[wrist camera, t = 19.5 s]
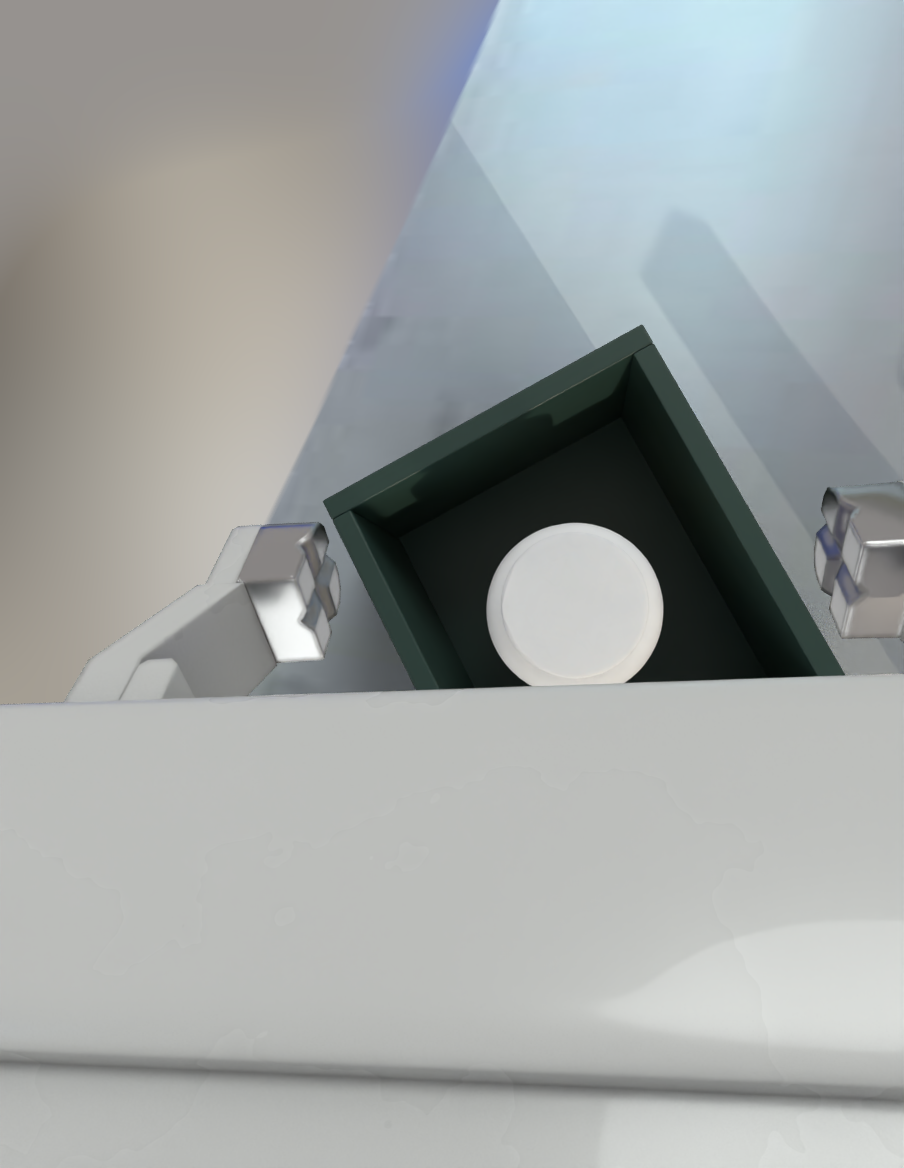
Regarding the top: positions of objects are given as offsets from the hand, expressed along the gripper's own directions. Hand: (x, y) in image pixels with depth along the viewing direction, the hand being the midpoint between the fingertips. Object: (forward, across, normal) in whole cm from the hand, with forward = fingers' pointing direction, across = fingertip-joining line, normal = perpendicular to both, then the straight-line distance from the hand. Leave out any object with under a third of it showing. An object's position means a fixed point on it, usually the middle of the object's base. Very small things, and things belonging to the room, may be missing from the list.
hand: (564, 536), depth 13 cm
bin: (+13, 0, +14) cm, 19 cm away
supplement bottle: (+12, 0, +13) cm, 18 cm away
